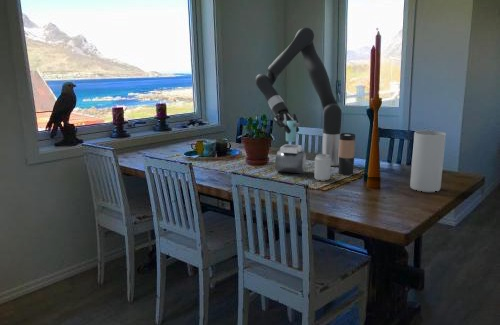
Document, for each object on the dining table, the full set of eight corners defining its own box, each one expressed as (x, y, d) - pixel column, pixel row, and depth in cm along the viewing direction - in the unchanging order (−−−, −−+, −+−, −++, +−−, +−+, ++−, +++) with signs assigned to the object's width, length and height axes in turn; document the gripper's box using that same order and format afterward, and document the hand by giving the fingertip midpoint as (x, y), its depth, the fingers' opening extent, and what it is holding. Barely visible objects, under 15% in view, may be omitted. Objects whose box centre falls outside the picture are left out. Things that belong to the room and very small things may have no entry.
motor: (305, 170, 218) (306, 145, 215) (300, 175, 208) (300, 149, 205) (281, 168, 223) (281, 143, 220) (275, 173, 213) (275, 147, 210)
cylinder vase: (437, 194, 177) (443, 136, 171) (407, 190, 184) (411, 133, 178) (442, 187, 187) (447, 132, 182) (413, 183, 194) (417, 129, 188)
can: (331, 177, 204) (331, 153, 201) (328, 181, 197) (329, 157, 194) (315, 176, 207) (316, 152, 204) (312, 180, 200) (313, 156, 197)
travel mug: (354, 172, 214) (356, 133, 209) (351, 175, 207) (353, 136, 203) (340, 170, 217) (341, 132, 213) (336, 174, 210) (338, 135, 206)
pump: (283, 140, 212) (283, 120, 210) (290, 139, 215) (291, 120, 213) (294, 142, 206) (294, 122, 204) (301, 141, 209) (302, 121, 207)
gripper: (270, 102, 209) (287, 128, 202) (291, 100, 217) (307, 126, 211) (263, 111, 214) (279, 138, 208) (284, 109, 223) (299, 135, 216)
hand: (293, 131), depth 209 cm, fingers closed on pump, 5 cm apart
